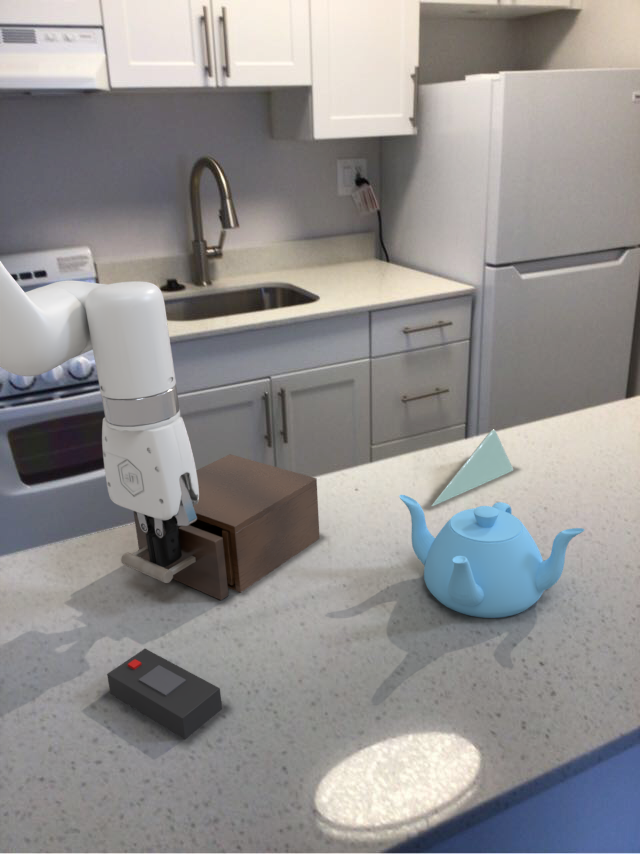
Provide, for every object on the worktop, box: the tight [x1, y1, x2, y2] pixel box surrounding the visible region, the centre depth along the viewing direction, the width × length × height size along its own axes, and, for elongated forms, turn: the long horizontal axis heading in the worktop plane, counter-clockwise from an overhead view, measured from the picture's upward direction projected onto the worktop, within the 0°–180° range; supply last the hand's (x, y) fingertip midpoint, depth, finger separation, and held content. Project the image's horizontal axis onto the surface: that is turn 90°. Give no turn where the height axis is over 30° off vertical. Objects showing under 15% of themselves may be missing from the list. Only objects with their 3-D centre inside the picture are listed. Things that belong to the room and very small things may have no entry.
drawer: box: [120, 510, 235, 601], centre depth 89 cm, size 18×13×7 cm
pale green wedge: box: [431, 428, 514, 507], centre depth 107 cm, size 8×6×18 cm
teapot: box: [398, 494, 585, 619], centre depth 82 cm, size 15×15×10 cm
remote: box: [106, 648, 223, 740], centre depth 68 cm, size 4×10×3 cm, turn 53°
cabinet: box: [193, 453, 321, 594], centre depth 93 cm, size 15×15×9 cm
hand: (166, 561), depth 84 cm, fingers closed
